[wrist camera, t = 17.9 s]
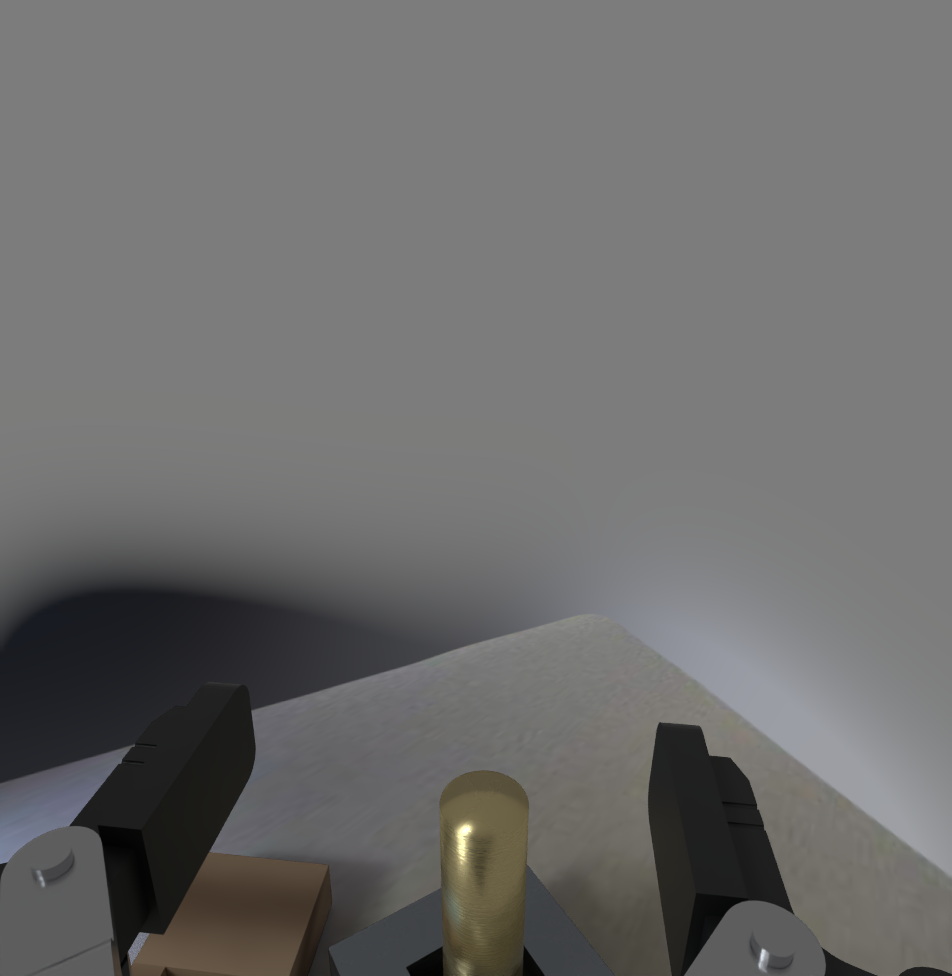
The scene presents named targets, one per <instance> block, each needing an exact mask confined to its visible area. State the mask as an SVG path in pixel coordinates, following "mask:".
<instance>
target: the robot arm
mask: <svg viewBox="0 0 952 976" xmlns="http://www.w3.org/2000/svg"><path fill="white" fill-rule="evenodd" d="M255 751H256V747H255V738H254V729H253V721H252V713H251V706H250V697H249V692H248V689H247V687H246V686H245V685H240V684H229V683H217V682H206V683H205V684H203V685H202V687H201V688H200V689H199V690H198V692H197V693H196V694H195V696H194V697H193V698H192V700H191V701H190V703H189V704H188V705H187V706H186V707H184V706H175V707H173V708H172V709H171V710H169V711H168V712H166V713H165V714H163V715H162V716H160V717H159V718H158V719H156V720H155V721H153V722H152V723H151V724H150V725H149V727H148V728H147V729H146V730H145V732H144V733H143V734H142V735H141V737H140V738H139V739H138V740H137V742H136V743H135V747H132V748H131V749H130V750H129V752H128V753H127V754H126V755H125V757H124V758H123V759H122V763H121V764H118V765H117V767H116V768H115V769H114V770H113V772H112V773H111V774H110V776H109V777H108V778H107V779H106V781H105V782H104V783H103V784H102V786H101V787H100V788H99V789H98V791H97V792H96V793H95V794H94V796H93V797H92V798H91V799H90V801H89V802H88V803H87V804H86V806H85V807H84V808H83V809H82V811H81V812H80V813H79V814H78V816H77V817H76V818H75V819H74V821H73V822H72V823H71V824H70V826H69V827H63V828H58V829H55V830H52V831H49V832H47V833H44V834H42V835H40V836H38V837H36V838H35V839H33V840H32V841H30V842H28V843H27V844H26V845H24V846H23V847H22V848H21V849H19V850H18V851H17V852H16V853H15V854H14V855H13V857H12V858H11V859H10V860H9V862H7V863H3V864H0V976H132V970H131V963H130V958H129V953H128V951H129V949H130V947H131V946H132V944H133V942H134V940H135V939H136V937H137V935H138V933H139V932H143V933H152V934H160V935H164V934H165V932H166V930H167V928H168V926H169V924H170V923H171V921H172V919H173V917H174V915H175V913H176V912H177V910H178V908H179V906H180V904H181V902H182V901H183V899H184V897H185V895H186V893H187V891H188V890H189V888H190V886H191V884H192V882H193V880H194V879H195V877H196V875H197V873H198V871H199V869H200V868H201V866H202V864H203V862H204V860H205V859H206V857H207V855H208V853H209V851H210V849H211V848H212V846H213V844H214V842H215V840H216V838H217V837H218V835H219V833H220V831H221V829H222V827H223V826H224V824H225V822H226V820H227V818H228V816H229V815H230V813H231V811H232V809H233V807H234V805H235V804H236V802H237V800H238V798H239V796H240V794H241V793H242V791H243V789H244V787H245V785H246V783H247V782H248V780H249V778H250V775H251V772H252V769H253V765H254V760H255ZM648 812H649V823H650V830H651V836H652V843H653V850H654V857H655V864H656V870H657V877H658V884H659V891H660V897H661V904H662V911H663V918H664V925H665V931H666V938H667V945H668V952H669V959H670V965H671V972H672V976H877V975H874V974H872V973H869V972H867V971H864V970H862V969H859V968H857V967H855V966H852V965H850V964H848V963H846V962H844V961H841V960H840V959H838V958H836V957H835V956H833V955H831V954H830V953H829V952H827V951H826V950H824V949H823V948H822V947H821V946H820V943H819V941H818V940H817V938H816V937H815V935H814V934H813V932H812V931H811V930H810V929H809V928H808V927H807V925H806V924H804V923H803V922H802V921H801V920H800V919H799V918H798V917H796V916H795V915H794V913H793V910H792V908H791V905H790V902H789V899H788V896H787V893H786V890H785V887H784V884H783V881H782V878H781V875H780V872H779V869H778V866H777V863H776V860H775V857H774V854H773V851H772V848H771V845H770V842H769V839H768V836H767V833H766V831H765V830H764V824H763V821H762V818H761V815H760V812H759V810H757V803H756V800H755V797H754V794H753V791H752V788H751V785H750V782H749V780H748V778H747V777H746V776H745V775H744V774H743V773H742V771H741V770H740V769H739V768H738V767H737V765H736V764H735V763H734V762H733V761H732V759H731V758H729V757H718V756H709V753H708V750H707V746H706V743H705V739H704V735H703V732H702V729H701V727H700V726H696V725H684V724H673V723H661V722H660V723H659V724H658V727H657V732H656V739H655V746H654V753H653V760H652V767H651V774H650V782H649V792H648ZM899 976H952V974H950V973H947V972H945V971H942V970H939V969H935V968H929V967H914V968H911V969H907V970H905V971H904V972H902V973H901V974H900V975H899Z"/></svg>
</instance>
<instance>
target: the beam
mask: <svg viewBox="0 0 952 976" xmlns="http://www.w3.org/2000/svg"><path fill="white" fill-rule="evenodd" d="M331 904H332V896H331V885H330V873H329V865H325V864H315V863H306V862H296V861H287V860H277V859H268V858H259V857H249V856H240V855H230V854H221V853H211V852H209V853H208V855H207V857H206V859H205V860H204V862H203V864H202V866H201V868H200V869H199V871H198V873H197V875H196V877H195V879H194V880H193V882H192V884H191V886H190V888H189V890H188V891H187V893H186V895H185V897H184V899H183V901H182V902H181V904H180V906H179V908H178V910H177V912H176V913H175V915H174V917H173V919H172V921H171V923H170V924H169V926H168V928H167V930H166V932H165V934H164V935H160V934H152V933H150V934H149V936H148V938H147V939H146V941H145V943H144V945H143V946H142V948H141V950H140V952H139V953H138V955H137V957H136V959H135V960H134V962H133V964H132V966H131V970H132V976H308V973H309V970H310V967H311V964H312V961H313V958H314V955H315V952H316V949H317V946H318V943H319V940H320V937H321V934H322V931H323V928H324V925H325V922H326V919H327V916H328V913H329V910H330V907H331Z"/></svg>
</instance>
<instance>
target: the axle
mask: <svg viewBox="0 0 952 976" xmlns="http://www.w3.org/2000/svg"><path fill="white" fill-rule="evenodd" d="M528 811H529V803H528V798H527V795H526V793H525V791H524V789H523V788H522V787H521V785H519V784H518V783H517V782H516V781H515V780H514V779H512V778H510V777H509V776H506V775H504V774H501V773H498V772H494V771H474V772H469V773H466V774H463V775H461V776H459V777H457V778H455V779H454V780H453V781H451V782H450V783H449V784H448V785H447V786H446V788H445V789H444V791H443V793H442V795H441V798H440V843H441V889H442V934H443V976H523V950H524V923H525V895H526V867H527V839H528Z"/></svg>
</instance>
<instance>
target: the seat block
mask: <svg viewBox="0 0 952 976" xmlns="http://www.w3.org/2000/svg"><path fill="white" fill-rule="evenodd" d="M328 952H329V962H330V973H331V976H443V934H442V889H439V890H437V891H435V892H433V893H431V894H429V895H427V896H425V897H424V898H422V899H420V900H418V901H416V902H414V903H412V904H410V905H408V906H407V907H405V908H403V909H401V910H399V911H397V912H395V913H393V914H391V915H389V916H388V917H386V918H384V919H382V920H380V921H378V922H376V923H374V924H372V925H370V926H369V927H367V928H365V929H363V930H361V931H359V932H357V933H355V934H353V935H352V936H350V937H348V938H346V939H344V940H342V941H340V942H338V943H336V944H334V945H333V946H331V947H329V948H328ZM523 976H615V975H614V974H613V973H612V971H611V970H610V969H609V968H608V966H607V965H606V964H605V963H604V961H603V960H602V959H601V958H600V956H599V955H598V954H597V952H596V951H595V950H594V949H593V947H592V946H591V945H590V944H589V942H588V941H587V940H586V939H585V937H584V936H583V935H582V933H581V932H580V931H579V930H578V928H577V927H576V926H575V925H574V923H573V922H572V921H571V920H570V918H569V917H568V916H567V914H566V913H565V912H564V911H563V909H562V908H561V907H560V906H559V904H558V903H557V902H556V901H555V899H554V898H553V897H552V895H551V894H550V893H549V892H548V890H547V889H546V888H545V887H544V885H543V884H542V883H541V882H540V880H539V879H538V878H537V876H536V875H535V874H534V873H533V871H532V870H531V869H530V868H529V866H528V865H527V867H526V895H525V923H524V950H523Z"/></svg>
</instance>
